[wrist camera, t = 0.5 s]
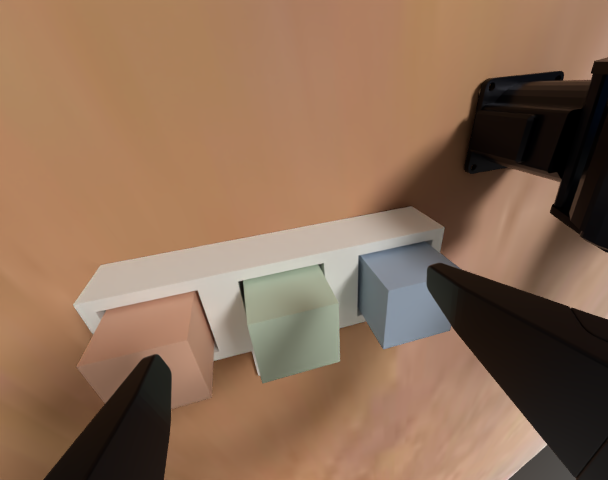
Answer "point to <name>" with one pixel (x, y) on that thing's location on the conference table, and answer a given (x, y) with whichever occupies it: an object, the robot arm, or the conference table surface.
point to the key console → (255, 270)
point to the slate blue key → (400, 294)
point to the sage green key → (292, 322)
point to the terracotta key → (153, 346)
